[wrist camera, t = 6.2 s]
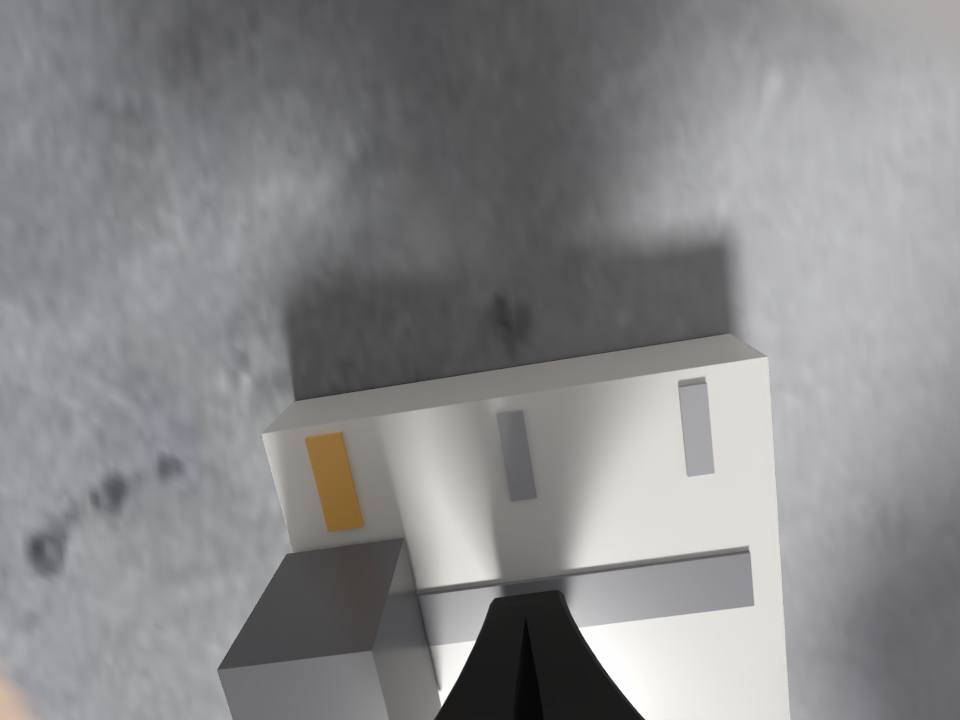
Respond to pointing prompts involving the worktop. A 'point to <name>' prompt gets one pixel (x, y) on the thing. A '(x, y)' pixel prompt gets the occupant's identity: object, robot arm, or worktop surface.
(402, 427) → the console
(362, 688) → the fader knob
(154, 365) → the worktop surface
